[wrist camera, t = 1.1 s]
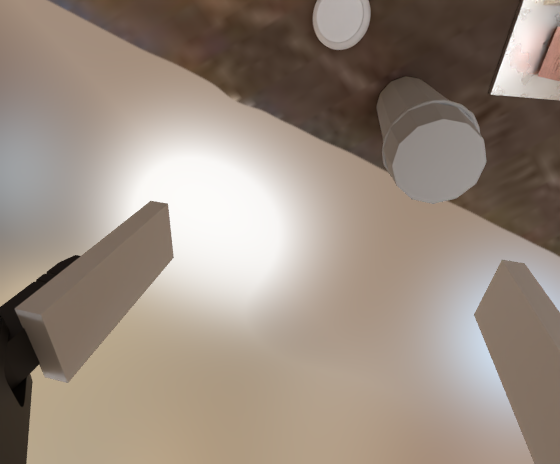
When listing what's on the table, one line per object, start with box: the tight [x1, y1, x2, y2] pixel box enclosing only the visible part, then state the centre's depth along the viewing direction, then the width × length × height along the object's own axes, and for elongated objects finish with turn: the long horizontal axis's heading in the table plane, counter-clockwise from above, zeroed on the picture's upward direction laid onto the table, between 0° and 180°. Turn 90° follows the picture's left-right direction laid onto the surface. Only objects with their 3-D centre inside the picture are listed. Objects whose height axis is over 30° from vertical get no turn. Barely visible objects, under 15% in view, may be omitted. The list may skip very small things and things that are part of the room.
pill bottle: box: [313, 0, 371, 50], centre depth 38 cm, size 6×6×11 cm
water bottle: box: [376, 76, 486, 204], centre depth 36 cm, size 9×8×25 cm
